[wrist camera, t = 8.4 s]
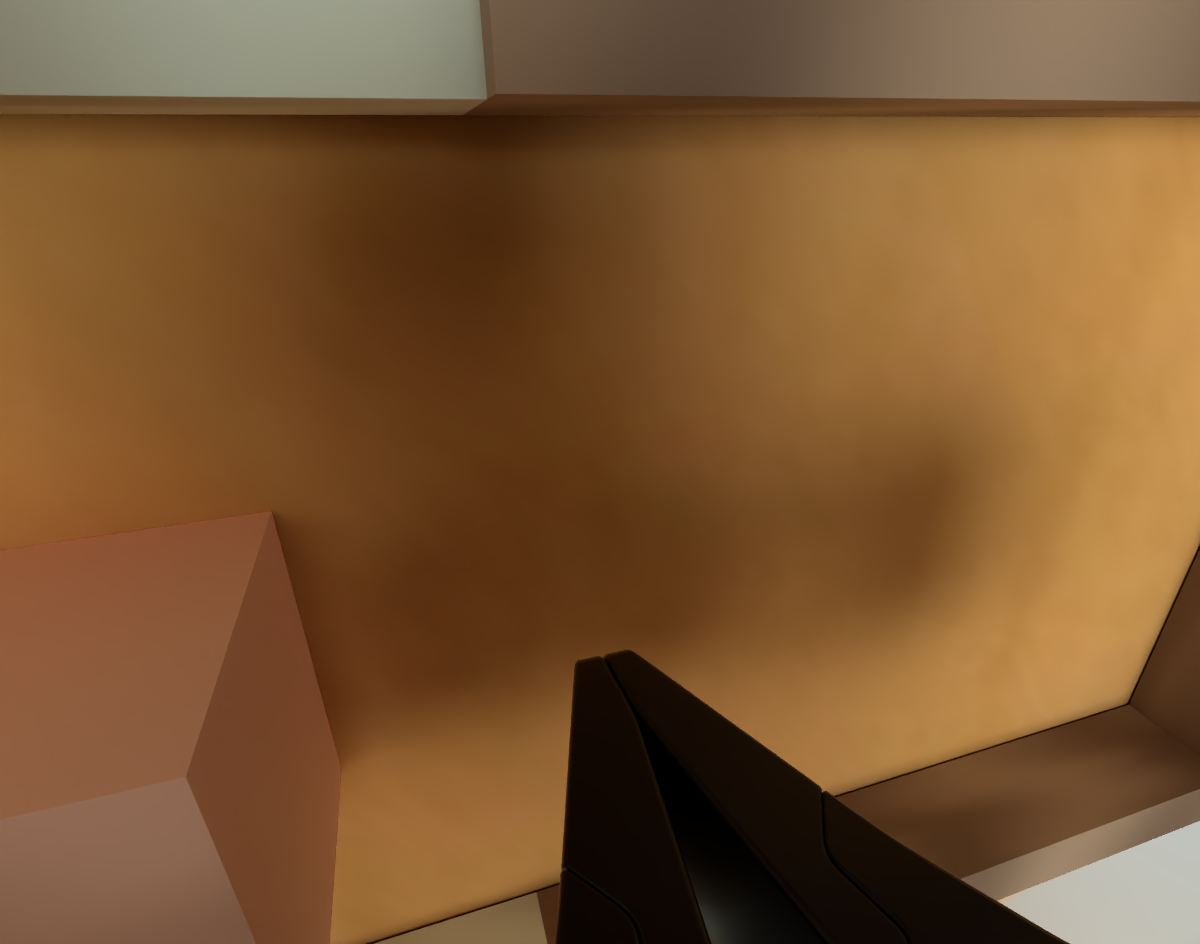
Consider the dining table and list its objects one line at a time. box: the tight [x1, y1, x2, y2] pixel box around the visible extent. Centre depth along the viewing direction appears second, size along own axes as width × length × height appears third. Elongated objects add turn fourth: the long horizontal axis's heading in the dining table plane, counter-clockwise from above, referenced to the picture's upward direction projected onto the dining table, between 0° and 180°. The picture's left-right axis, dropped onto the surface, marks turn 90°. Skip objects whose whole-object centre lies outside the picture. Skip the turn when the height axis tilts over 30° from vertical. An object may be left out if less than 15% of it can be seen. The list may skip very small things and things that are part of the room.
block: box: [0, 511, 341, 944], centre depth 7 cm, size 5×5×4 cm
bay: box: [0, 0, 1200, 944], centre depth 11 cm, size 28×18×2 cm, turn 91°
